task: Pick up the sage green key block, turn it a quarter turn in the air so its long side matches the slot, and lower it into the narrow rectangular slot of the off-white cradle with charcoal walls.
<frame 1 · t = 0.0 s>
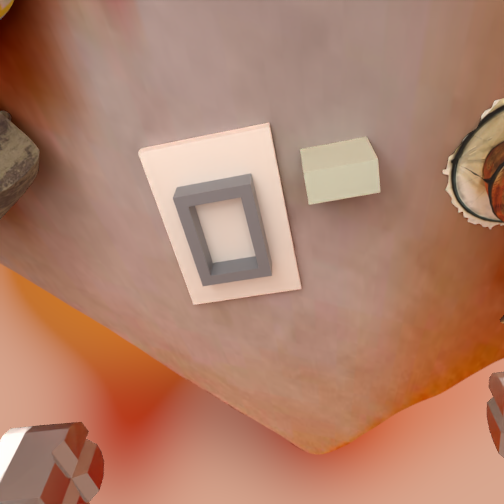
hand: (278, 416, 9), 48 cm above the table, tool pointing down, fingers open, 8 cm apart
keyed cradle: (227, 221, 62), on the table
key block: (334, 158, 57), on the table
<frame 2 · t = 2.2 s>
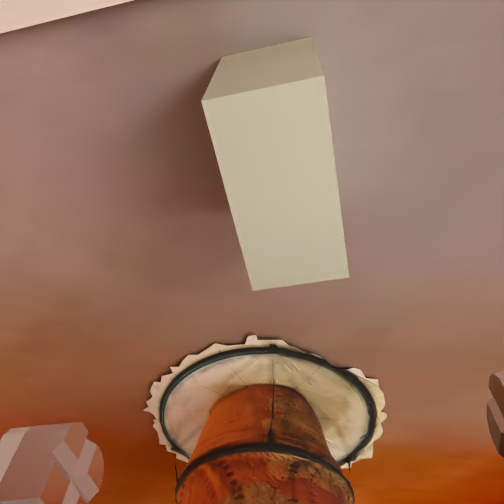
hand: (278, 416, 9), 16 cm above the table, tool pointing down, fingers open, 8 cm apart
key block: (281, 132, 23), on the table
decorative vase: (267, 420, 35), on the table
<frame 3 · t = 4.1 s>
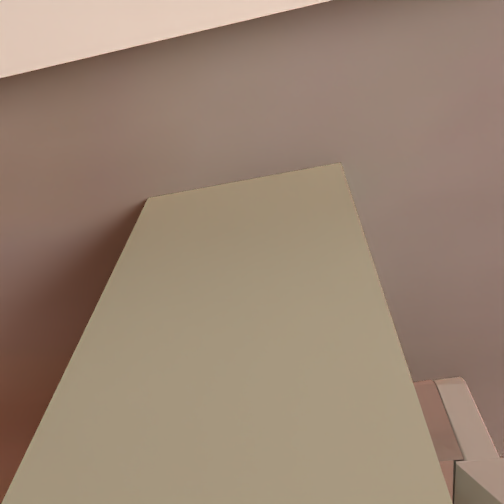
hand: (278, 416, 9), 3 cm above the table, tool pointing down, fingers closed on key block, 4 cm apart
key block: (277, 325, 12), on the table, touching gripper
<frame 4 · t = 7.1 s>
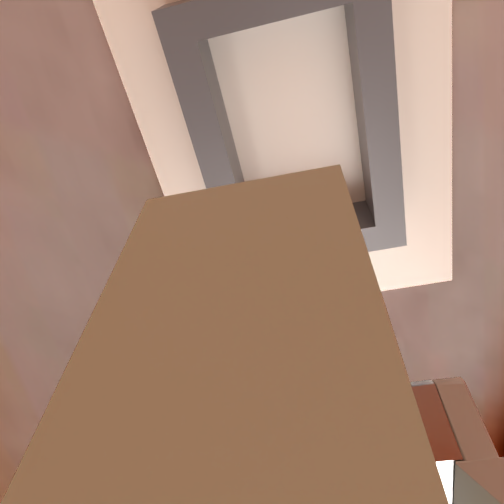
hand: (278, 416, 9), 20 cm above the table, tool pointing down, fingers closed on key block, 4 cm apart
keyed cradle: (291, 115, 26), on the table
key block: (276, 327, 12), point 17 cm above the table, touching gripper
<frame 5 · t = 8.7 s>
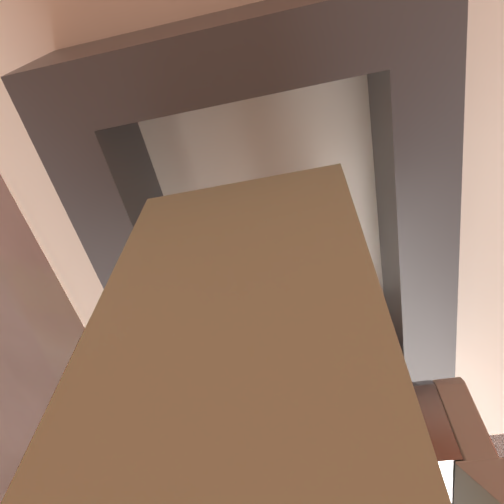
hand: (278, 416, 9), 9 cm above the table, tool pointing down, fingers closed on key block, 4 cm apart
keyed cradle: (276, 212, 16), on the table
key block: (276, 327, 12), point 6 cm above the table, touching gripper
when the fingers open (6 cm above the table, at t = 10.0 s): key block drops 1 cm, resting on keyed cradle.
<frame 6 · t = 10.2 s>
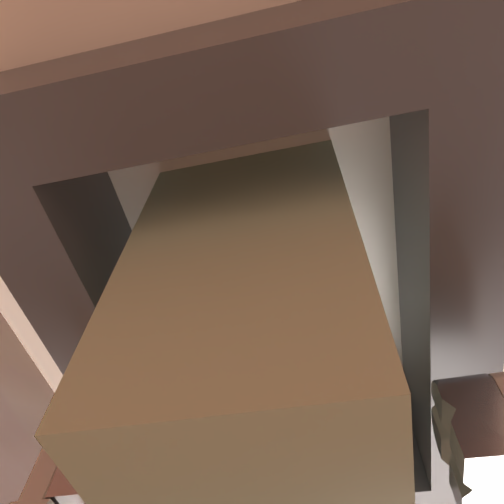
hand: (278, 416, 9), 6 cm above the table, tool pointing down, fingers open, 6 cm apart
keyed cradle: (275, 258, 14), on the table
key block: (275, 291, 13), point 1 cm above the table, touching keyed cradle
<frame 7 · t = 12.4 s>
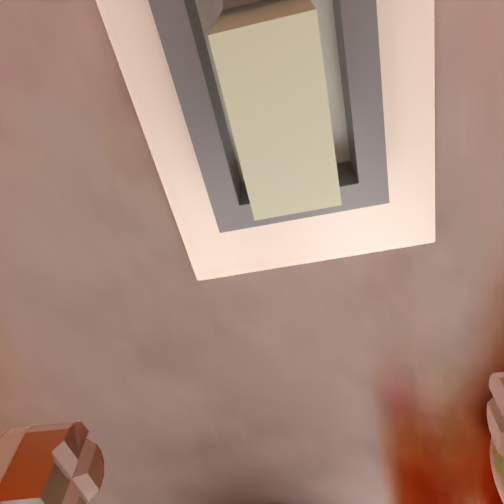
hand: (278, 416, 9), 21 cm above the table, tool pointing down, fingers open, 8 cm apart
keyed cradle: (277, 74, 26), on the table
key block: (278, 83, 25), point 1 cm above the table, touching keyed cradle
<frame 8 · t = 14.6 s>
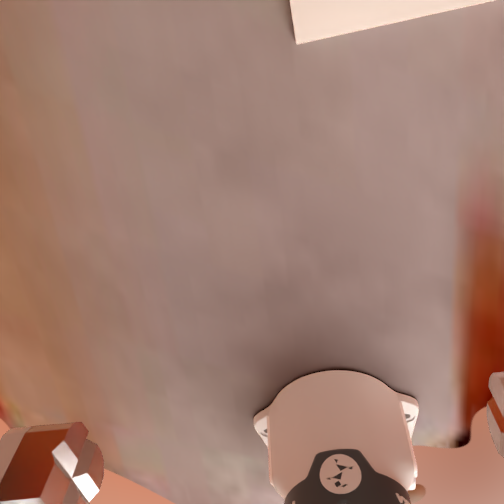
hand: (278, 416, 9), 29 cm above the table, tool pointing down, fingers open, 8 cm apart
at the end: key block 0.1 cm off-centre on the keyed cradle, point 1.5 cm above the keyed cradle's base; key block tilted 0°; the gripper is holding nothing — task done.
